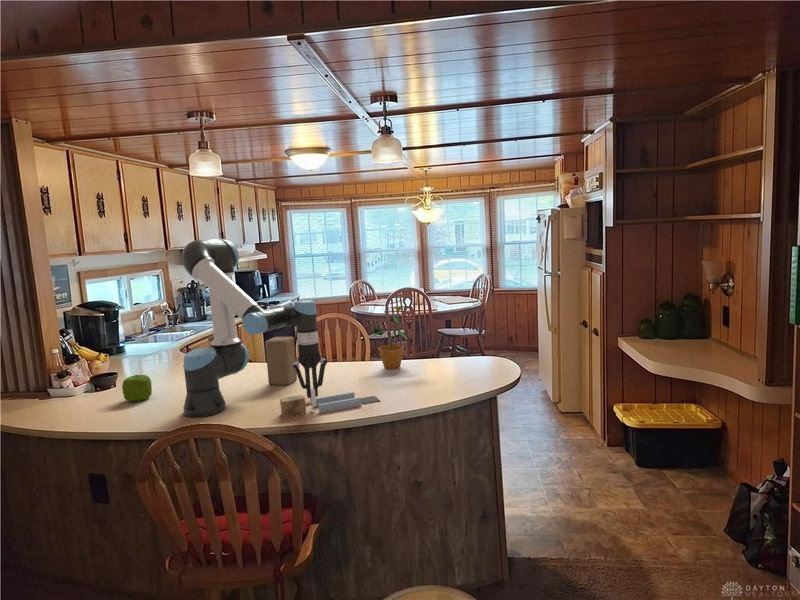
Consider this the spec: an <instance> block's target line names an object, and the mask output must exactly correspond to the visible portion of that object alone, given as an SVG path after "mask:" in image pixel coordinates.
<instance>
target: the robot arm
mask: <svg viewBox="0 0 800 600" xmlns="http://www.w3.org/2000/svg"><path fill="white" fill-rule="evenodd" d="M239 260H240V254H239V250H238V249H237V247H236V245H235V244H234V243H233V242H232V241H230V240H229V239H222V238H217V239H214V238H212V239H196V240H193V241H190V242H189V243H188V244H187V245H185V246H184V248H183V250H182V252H181V262H182V266H183V267H184V269H185V270H186V272H187V273H188V274H189V275H190V276H191V277H192V278H193V279H195V280H199V281H201V282H202V283H203V285H204V286H206V287H207V288H208V294H209V305H210V313H211V314H210V315H211V321H212V322H211V323H212V331H213V339H212V341H211V342H210V346H209V347H205V346H204V347H201V348H196V349H192V350H190V351H189V352H187V353H186V354H185V355H184V356H183V371H184V378H185V388H186V396H185V399H184V404H183V415H184V416H185V417H189V418H202V417H203V418H204V417H210V416H213V415H217V414H219V413H221V412H224V411H225V410H226V408H227V405H226V401H225V398H224V395H223V394H222V392H221V390H220V384H219V381H220V379H223V378H225V377H228V376H232V375H236V374H238V373H239V372H242V371H243V370H244V369H245V368H246V366H247V365H248V362H249V358H250V357H249V351H248V348H247V347H246V346H245V344H243V343H242V340H241V339H240V338H239V337H238V336H237V329H236V328H237V327H236V326H237V325H236V319H235V314H236V315H237V316H238V317H239V318H240V319H241V320H242V321H241V323H242V327H243V328H244V331H245V332H246V333H247V334H249V335H262V334H264V333H266V332H270V331H274V330H277V329H281V328H285V327H294V328H296V337H297V338H296V339H297V341H296V342H297V343H298V345H297V349H298V357H297V360H296V362H295V363H293V364H292V366H293V367H294V368H295V370H296V373H297V379H298V381H299V385H300V387H301V388H302V389H303V390H305V389H306V396H307V397H308V398H309V399H310V406H311V407H312V408H316V407H315V406H316V398H319V397H318V396H319V390H318V388H319V387H323V383H324V382H323V381H324V377H325V371H326V370H325V369H326V366H327V364H328V360H327V359H326V358H323V357H322V355H321V354H320V343H319V342H318V341H319V332H318V319H317V314H318V312H317V307H316V302H315V301H314V300H311V299H306V300H305V299H304V300H297V301H295V302H294V306H293V305H291V306H289V305H288V306H287V305H285V306H284V305H276V306H271V307H269V309H264V308H262V306H260V305H259V304H258V303H257V302H256V301H254V299H252V298H251V296H249V295H248V294H247V293H246V292H245V291H244V290H243V289H241V287H240V286H239V285H237V284H236V283H235V282H234V281H233V280H232V279H231V278H232V276H233V275H234V273H235V267H236V266H237V265H238V263H239ZM319 363H320V364H319ZM318 364H319V365H320V366H319V372H318V374H317V367H318ZM300 365H301V366H302V368H303V369H304V378H305V381H304V378H303V375H302V372H301V369H300ZM310 369H311V374H310ZM311 378H312V385H311ZM311 386H312V387H311Z"/></svg>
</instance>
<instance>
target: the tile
mask: <svg viewBox="0 0 800 600" xmlns="http://www.w3.org/2000/svg"><path fill="white" fill-rule="evenodd" d="M302 396H303V397H304V398H305V406H309V405H310V406H311V404H310V398H308V397H307V394H303V395H302Z"/></svg>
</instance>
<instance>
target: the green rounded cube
mask: <svg viewBox="0 0 800 600" xmlns="http://www.w3.org/2000/svg"><path fill="white" fill-rule="evenodd" d="M152 387H153V385H152V380H151V378H150V376H149V375H145V374H135V375H130V376H129V377H126V378H125V379H123V381H122V385H121V389H122V394H123V398H124V400H125V401H128V402H132V403H133V402H134V403H135V402H143V401H145V400H148V398H149V397H151V395H152V392H153V391H152V389H153V388H152Z"/></svg>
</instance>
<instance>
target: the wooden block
mask: <svg viewBox="0 0 800 600" xmlns="http://www.w3.org/2000/svg"><path fill="white" fill-rule="evenodd" d="M264 343H265V356H266V357H265V358H266V364H267V366H266V367H267V368H266V369H267V380H268V384H269V385H271V386H289V385H291V384H292V383H293V382H295V381H296V380H297V379H298V376H297V373H296V370H295V368H294V367H293V366H292V364H293V363H295V362H297V358H296V349H295V347H296V346H295V337H294V336H274V337H272V338H270V339H267V340H265V342H264Z"/></svg>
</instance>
